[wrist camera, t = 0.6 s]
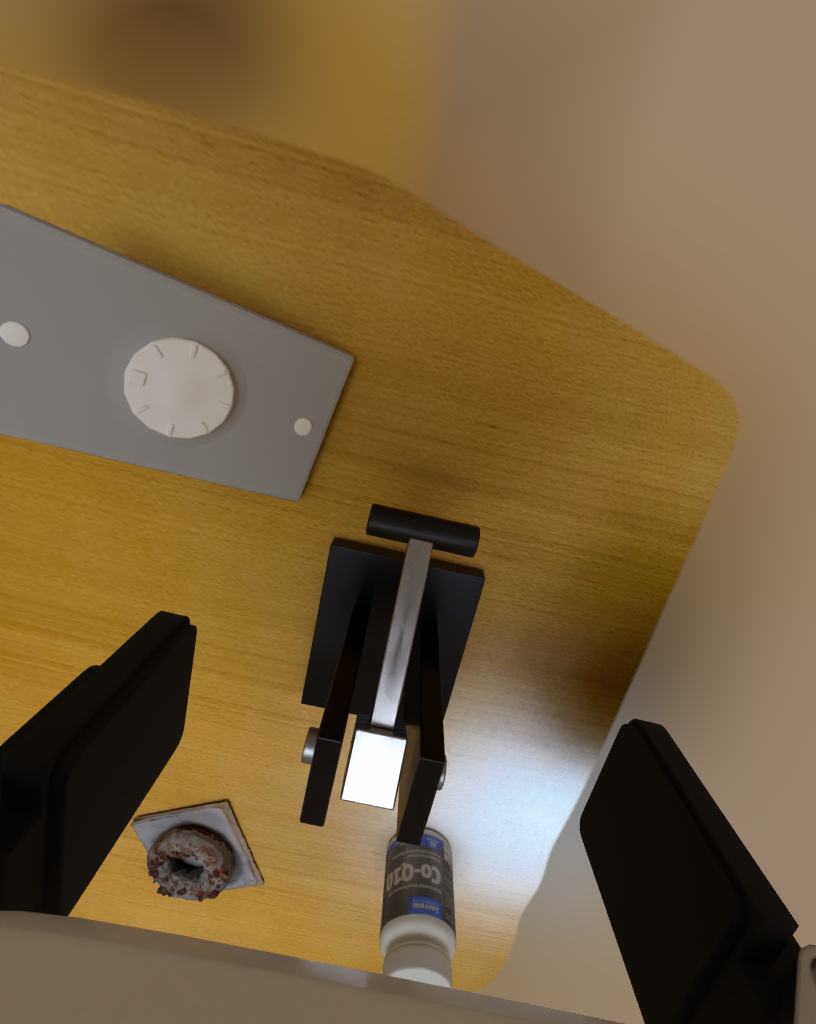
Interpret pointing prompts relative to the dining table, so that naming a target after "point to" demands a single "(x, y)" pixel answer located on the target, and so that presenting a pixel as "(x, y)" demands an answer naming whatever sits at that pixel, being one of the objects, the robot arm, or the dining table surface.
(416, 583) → the switch lever
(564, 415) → the dining table surface
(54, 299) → the light switch
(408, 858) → the pill bottle
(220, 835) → the donut
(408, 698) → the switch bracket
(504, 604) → the dining table surface
